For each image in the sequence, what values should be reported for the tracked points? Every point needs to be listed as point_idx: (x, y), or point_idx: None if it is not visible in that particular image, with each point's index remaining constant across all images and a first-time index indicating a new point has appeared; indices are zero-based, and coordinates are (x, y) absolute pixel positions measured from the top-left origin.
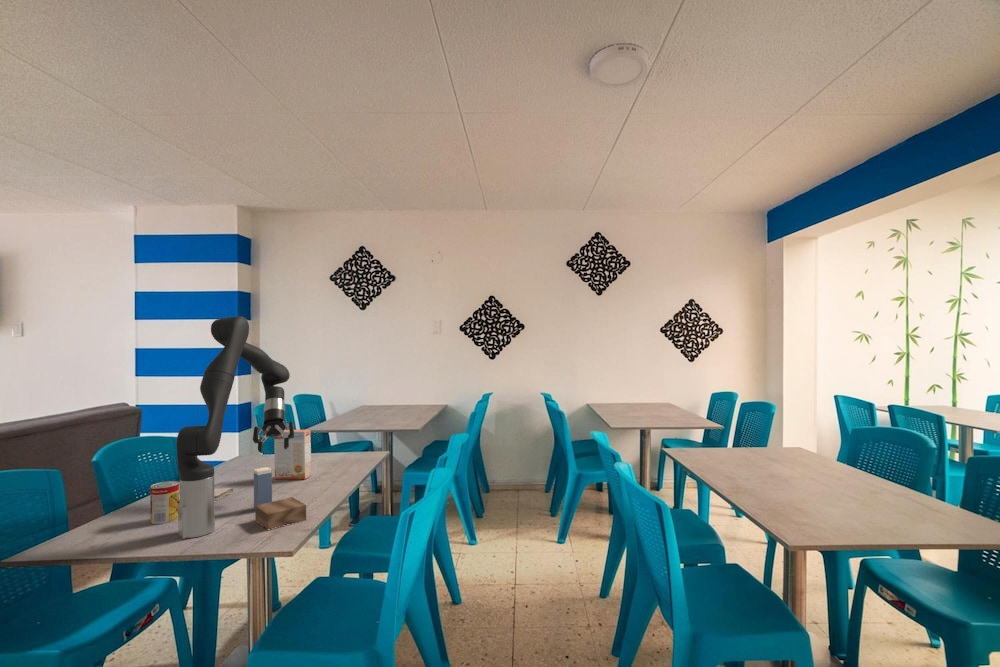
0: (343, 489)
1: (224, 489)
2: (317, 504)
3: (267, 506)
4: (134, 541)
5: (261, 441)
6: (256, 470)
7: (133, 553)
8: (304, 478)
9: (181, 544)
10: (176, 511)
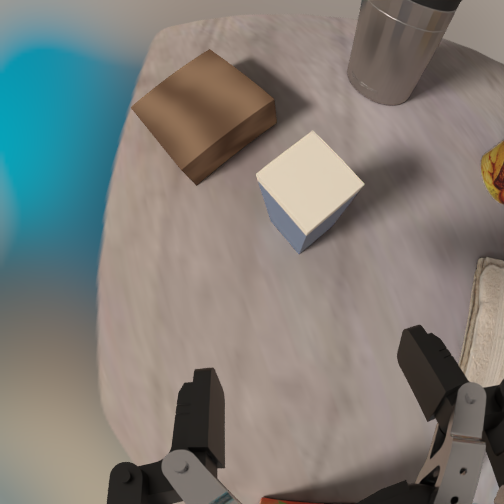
0: (109, 375)
1: (474, 376)
2: (140, 242)
3: (232, 92)
4: (459, 75)
5: (450, 403)
6: (335, 156)
7: None
8: (263, 499)
9: None
10: (491, 165)
